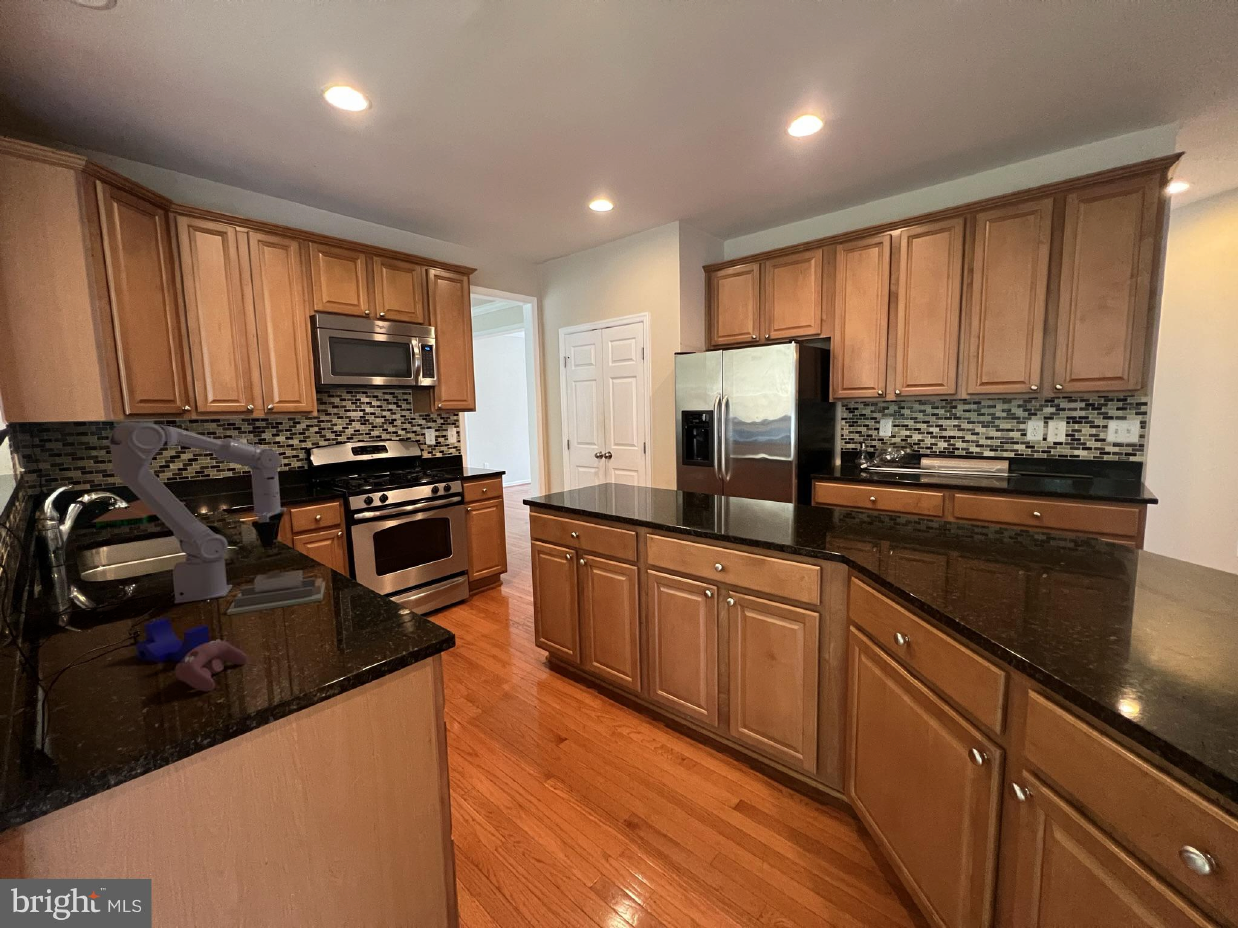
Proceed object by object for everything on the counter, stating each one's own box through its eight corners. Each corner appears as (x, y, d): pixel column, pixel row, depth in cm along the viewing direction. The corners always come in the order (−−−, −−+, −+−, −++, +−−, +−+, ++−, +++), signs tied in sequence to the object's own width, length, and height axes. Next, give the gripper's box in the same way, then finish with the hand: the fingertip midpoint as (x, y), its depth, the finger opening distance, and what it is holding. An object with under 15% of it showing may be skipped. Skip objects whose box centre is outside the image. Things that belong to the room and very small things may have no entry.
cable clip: (138, 658, 90) (134, 627, 90) (166, 647, 95) (163, 617, 94) (183, 669, 87) (180, 636, 86) (211, 656, 91) (208, 626, 90)
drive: (255, 601, 114) (254, 580, 114) (259, 595, 118) (257, 575, 117) (301, 594, 118) (300, 574, 118) (303, 589, 122) (301, 570, 121)
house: (187, 508, 225) (185, 490, 224) (173, 522, 198) (171, 502, 197) (117, 514, 212) (115, 495, 211) (92, 530, 185) (90, 509, 184)
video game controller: (229, 671, 89) (207, 638, 88) (252, 659, 89) (230, 627, 88) (187, 703, 79) (162, 668, 78) (213, 690, 79) (188, 654, 78)
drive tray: (227, 615, 109) (226, 602, 108) (239, 596, 119) (238, 585, 119) (321, 600, 117) (320, 589, 117) (325, 584, 128) (324, 574, 127)
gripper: (280, 496, 126) (284, 548, 128) (288, 488, 139) (291, 535, 140) (246, 498, 123) (250, 551, 124) (257, 490, 136) (261, 538, 137)
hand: (270, 543), depth 132 cm, fingers open, 7 cm apart
